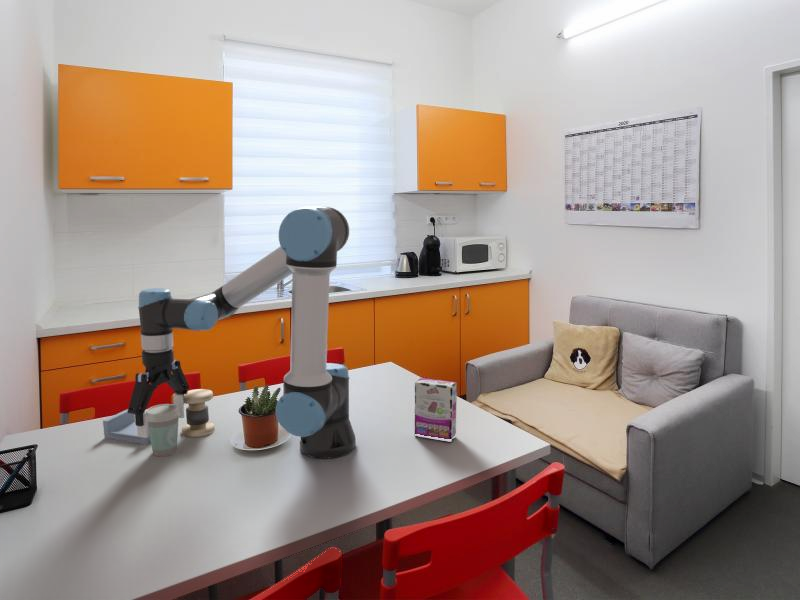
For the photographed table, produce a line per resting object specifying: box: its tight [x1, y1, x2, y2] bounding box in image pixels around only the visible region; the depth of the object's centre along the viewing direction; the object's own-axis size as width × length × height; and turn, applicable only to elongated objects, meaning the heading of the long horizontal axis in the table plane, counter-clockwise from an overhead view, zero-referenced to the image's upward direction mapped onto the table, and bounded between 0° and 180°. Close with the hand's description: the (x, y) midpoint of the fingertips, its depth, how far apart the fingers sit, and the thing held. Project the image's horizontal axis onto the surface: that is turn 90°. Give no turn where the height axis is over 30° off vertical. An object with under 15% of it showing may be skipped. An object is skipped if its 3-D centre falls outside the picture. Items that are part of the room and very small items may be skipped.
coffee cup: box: [145, 403, 180, 457], centre depth 144 cm, size 8×8×12 cm
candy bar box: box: [414, 377, 458, 439], centre depth 154 cm, size 11×5×16 cm, turn 68°
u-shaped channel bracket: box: [102, 408, 151, 445], centre depth 155 cm, size 10×14×5 cm
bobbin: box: [181, 388, 216, 439], centre depth 157 cm, size 9×9×11 cm
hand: (162, 426), depth 144 cm, fingers open, 13 cm apart
